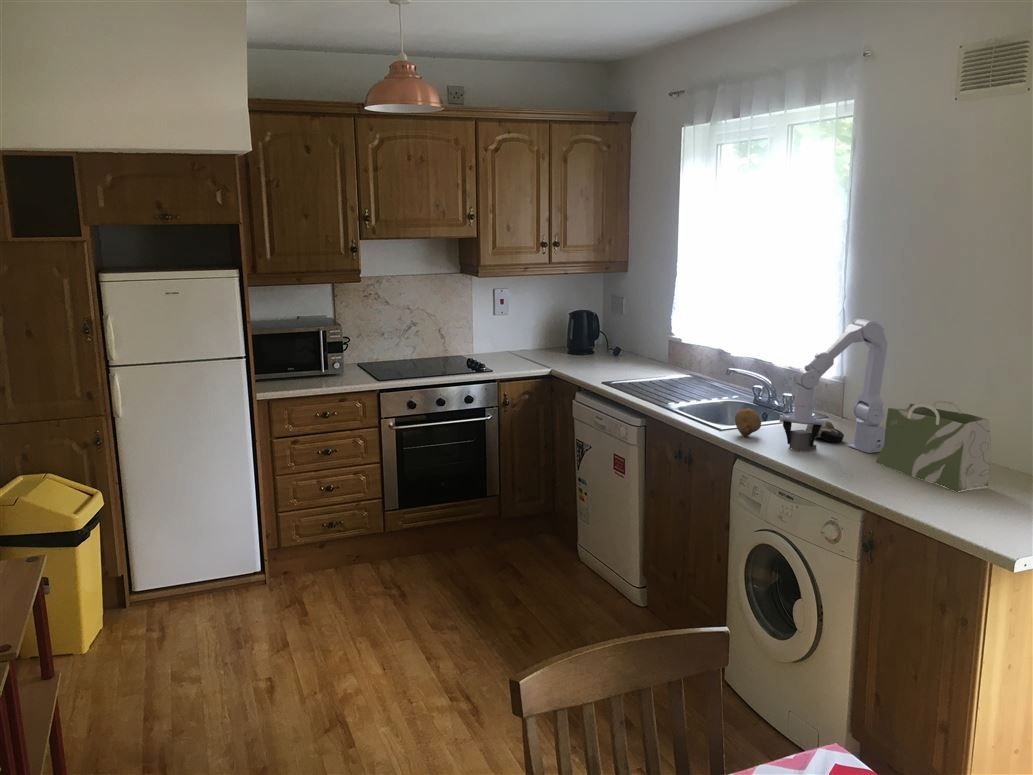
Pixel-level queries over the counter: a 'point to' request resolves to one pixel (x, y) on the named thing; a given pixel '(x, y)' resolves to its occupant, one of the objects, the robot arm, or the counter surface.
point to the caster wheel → (828, 433)
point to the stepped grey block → (801, 440)
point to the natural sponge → (747, 421)
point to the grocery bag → (938, 445)
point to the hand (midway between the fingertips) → (800, 444)
